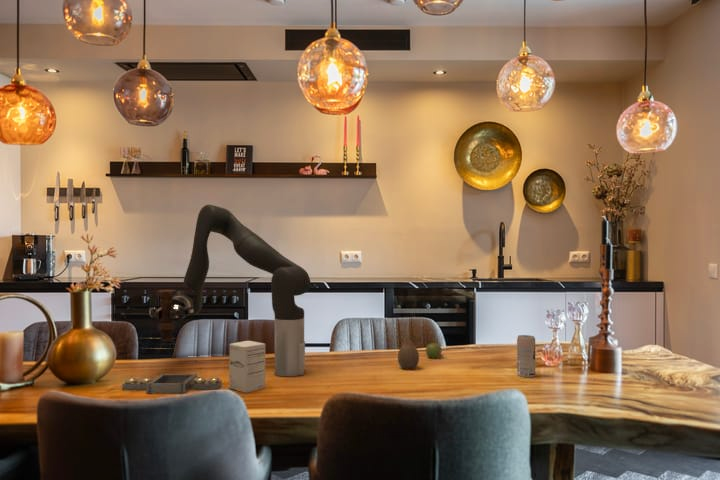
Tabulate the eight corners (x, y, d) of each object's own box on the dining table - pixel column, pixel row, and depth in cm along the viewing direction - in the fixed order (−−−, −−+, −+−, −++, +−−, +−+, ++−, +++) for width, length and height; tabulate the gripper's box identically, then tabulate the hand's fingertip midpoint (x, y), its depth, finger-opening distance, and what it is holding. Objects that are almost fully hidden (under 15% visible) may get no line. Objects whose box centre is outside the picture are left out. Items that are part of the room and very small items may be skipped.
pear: (424, 343, 187) (427, 342, 197) (424, 358, 186) (427, 357, 196) (440, 343, 186) (442, 343, 196) (440, 359, 185) (442, 358, 195)
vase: (394, 369, 171) (394, 342, 171) (401, 365, 177) (401, 338, 177) (415, 371, 168) (415, 343, 168) (421, 366, 175) (421, 340, 175)
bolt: (168, 342, 155) (168, 291, 155) (153, 342, 156) (153, 291, 156) (179, 339, 161) (179, 289, 161) (164, 338, 162) (164, 289, 162)
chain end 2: (224, 382, 155) (224, 373, 155) (215, 393, 144) (215, 383, 144) (163, 382, 154) (163, 373, 154) (148, 393, 143) (148, 384, 143)
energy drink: (536, 374, 164) (536, 335, 164) (534, 378, 159) (534, 338, 159) (518, 372, 166) (518, 334, 166) (515, 376, 161) (515, 337, 162)
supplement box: (228, 388, 148) (228, 343, 148) (249, 383, 154) (249, 339, 154) (244, 393, 143) (244, 346, 143) (266, 388, 149) (266, 342, 149)
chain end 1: (195, 382, 155) (195, 373, 155) (183, 393, 143) (183, 383, 143) (133, 383, 154) (133, 374, 154) (116, 394, 143) (116, 384, 143)
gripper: (154, 297, 172) (139, 302, 155) (199, 296, 173) (189, 301, 156) (154, 320, 172) (139, 328, 154) (199, 319, 173) (189, 327, 156)
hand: (164, 315), depth 155 cm, fingers closed on bolt, 3 cm apart
